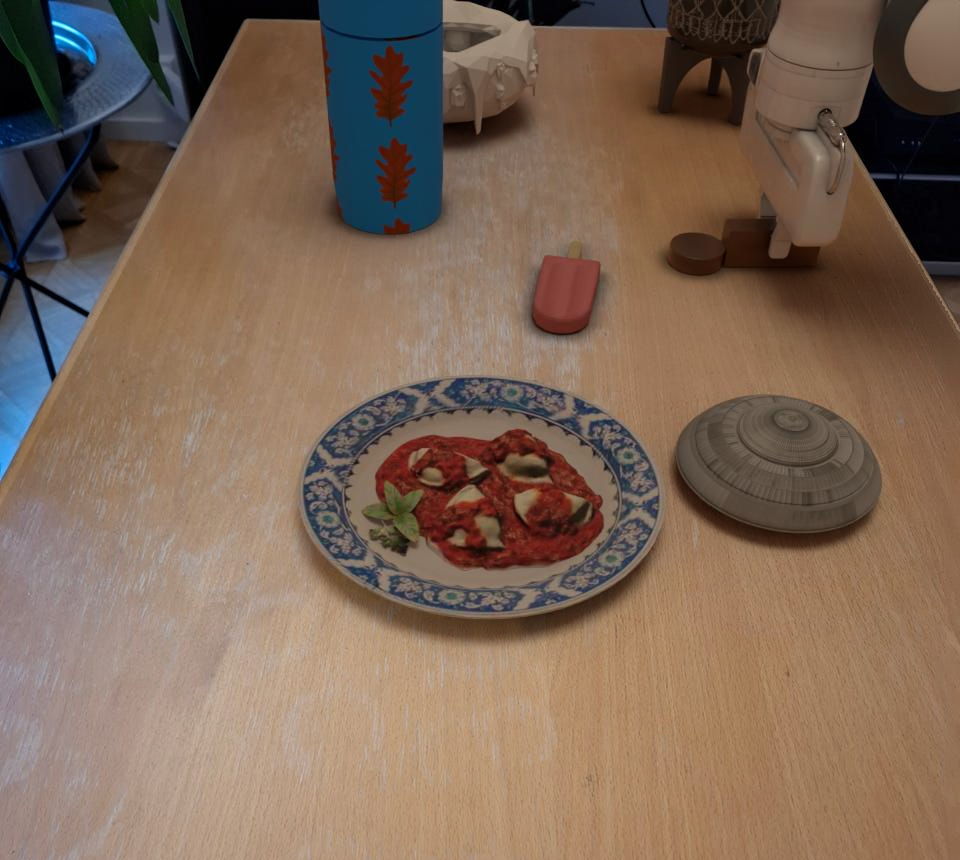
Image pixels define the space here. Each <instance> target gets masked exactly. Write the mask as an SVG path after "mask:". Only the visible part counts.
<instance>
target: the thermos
mask: <svg viewBox="0 0 960 860" xmlns="http://www.w3.org/2000/svg"><path fill="white" fill-rule="evenodd" d="M317 1H318V15H319V20H320V21H319V26H320V37H321V49H322V60H323V74H324V83H325V84H324V85H325V97H326V109H327V122H328V133H329V134H328V135H329V145H330V146H329V147H330V155H331V169H332V178H333V186H334V194H335V200H336V206H337V214H338V216H339V217H340V218H341V220H342V221H343V222H344V223H345V224H348V225H349V226H351V227H352V228H355V229H357V230H359V231H364V232H367V233H371V234H381V235H399V234H408V233H412V232H416V231H419V230H422V229H425V228H427V227H428V226H431V225H432V224H434V223H435V222H436V221H437V220H438V218H439V217H440V215H441V214H442V203H443V202H442V201H443V184H444V183H443V182H444V123H443V0H317Z"/></svg>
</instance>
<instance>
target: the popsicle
mask: <svg viewBox="0 0 960 860" xmlns="http://www.w3.org/2000/svg"><path fill="white" fill-rule="evenodd" d="M582 249H583V243H582V242H581V241H577V240H573V241H571V242H570V245H569V248H568V253H567V256H559V255H551V254H546V255H544V257H543V259H542V262H541V267H540V271H539V274H538V279H537V282H536V283H537V284H536V288H535V292H534V298H533V303H532V312H531V313H532V314H531V315H532V317H533V319H534V322H535V325H537V326H538V327H539V328H541V329H542V330H544V331H547V332H550V333H554V334H572V333H575V332H579V331H581V330H582V329H583V328H585V326H586V325H587V324H588V323H589V322H590V317H591V314H592V310H593V305H594V303H595V299H596V294H597V289H598V285H599V281H600V274H601V268H602V267H601V266H602V264H601V261H599V260H595V259H594V260H593V259H585V258H583V259H582V258H581V253H582Z"/></svg>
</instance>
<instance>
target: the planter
mask: <svg viewBox="0 0 960 860" xmlns="http://www.w3.org/2000/svg"><path fill="white" fill-rule="evenodd" d="M780 3H781V0H668V2H667V11H666V30H667V33H668V34H669V36H665V41H664V51H663V58H662V59H663V60H662V68H661V77H660V86H659V92H658V93H659V94H658V102H657V109H658V110H659V112H660V113H670V112H671V109H672V106H673V102H674V99H675V97H676V94H677V91H678V89H679V86H680V84H681V83H682V81H683V79H684V78H685V77H686V76H687V74H688V73H689V72H690V71H691V70H692V69H694V67H696V66H697V65H698V64H700V63H701V62H704V61H706V60H708V59H711V62H710V69H709V77H708V82H707V87H706V88H707V89H706V94H707V95H711V96H717V95H718V94H719V92H720V87H721V82H722V77H723V72H724V71H725V73H726V75H727V78H728V81H729V86H730V91H731V108H730V109H731V112H730V117H729V118H730V119H729V122H730V123H731V124H733V125H735V126H740V125H742V119H743V113H744V107H745V101H746V95H747V90H748V86H749V83H750V78H749V76H748V74H747V67H748V62H749V57H750V54H751V51H752V50H753V49H761V48H765V46H767V42H768V38H769V35H770V33H771V31H772V29H773V27H774V25H775V23H776V20H777V18H778V15H779V10H780Z"/></svg>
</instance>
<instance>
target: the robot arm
mask: <svg viewBox="0 0 960 860" xmlns="http://www.w3.org/2000/svg"><path fill="white" fill-rule="evenodd" d="M765 46H766V47H762V48H760V49H753V50H752V51H751V54H750V57H749V62H748V67H747V74H748V76H749V78H750V83H749V86H748V90H747V95H746V101H745V107H744V113H743V119H742V124H741V127H740V151H741V153H742V155H743V157H744V159H745V160H746V162H747V164H748V166H749V167H750V169H751V171H752V173H753V174H754V176H755V178H756V180H757V182H758V183H759V187H758V211H757V212H758V215H757V219H776V222H777V226H776V228H775V230H774V232H773V233H769V236H768V240H767V244H766V250H767V252H768V254H769V256H770V257H771V258H785V257H786V256H787V255H788V253H789V249H790V246H791V242H792V243H793V244H794V245H796V246H803V247H818V246H821V247H828V246H831V245H832V244H833V243H834V242H835V241H836V239H838V236H839V234H840V231H841V227H842V224H843V220H844V216H845V212H846V209H847V204H848V199H849V196H850V191H851V186H852V182H853V178H854V177H853V176H854V169H855V159H854V155H853V151H852V150H851V148H850V147H849V145H848V144H847V141H848V135H847V132H846V130H845V127H848V126H851V124H852V125H853V123H855V122H856V121H857V120H858V118H859V115H860V111H861V108H862V105H863V102H864V101H863V100H864V98H865V95H866V91H867V88H868V85H869V82H870V78H871V75H872V71H873V68H874V74H875V76H876V79H877V82H878V83H879V85H880V87H881V88H882V90H883V92H884V93H885V94H886V95H887V96H888V97H889V98H890V99H891V100H892V101H893V102H894V103H895V104H897V105H898V106H900V107H902V108H903V109H905V110H906V111H910V112H913V113H915V114H920V115H925V116H926V115H927V116H944V115H951V114H956V113H959V112H960V0H781V3H780V10H779V15H778V18H777V20H776V23H775V25H774V27H773V29H772V31H771V33H770V35H769V38H768V42H767V44H766V45H765Z"/></svg>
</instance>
